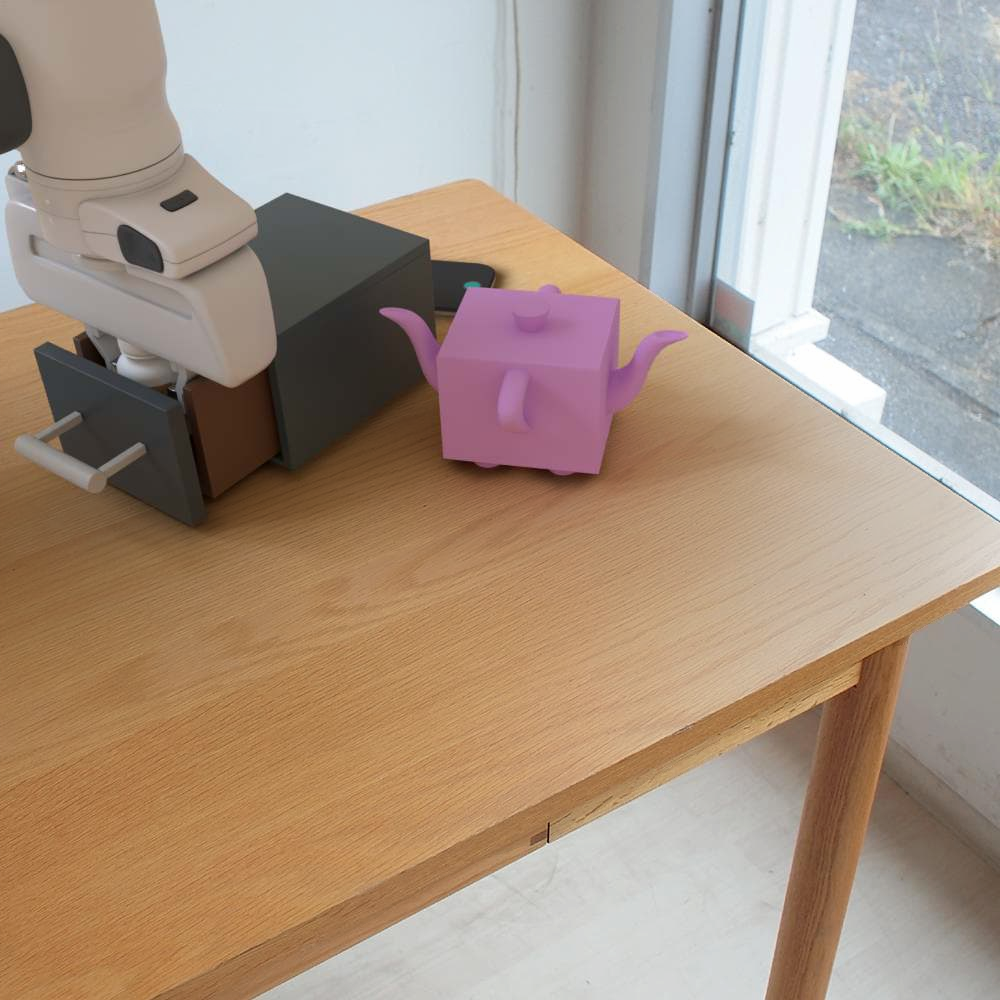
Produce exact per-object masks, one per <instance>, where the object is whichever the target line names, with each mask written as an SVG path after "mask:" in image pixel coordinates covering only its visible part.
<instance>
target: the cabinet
mask: <svg viewBox="0 0 1000 1000" xmlns="http://www.w3.org/2000/svg"><path fill="white" fill-rule="evenodd" d="M253 210H254V212H255V214H256V218H257V224H258V233H257V236H256V237H254V238H253V239H252V240H250V241H249V242H247V243H246V245H248V246H249V247H250V248H251V249H252V250H253V252H254V253H255V254H256V256H257V257H258V259H259V261H260V263H261V265H262V268H263V270H264V273H265V277H266V280H267V285H268V290H269V294H270V300H271V305H272V310H273V317H274V323H275V331H276V339H277V351H276V355H275V357H274V359H273V360H272V362H271V363H270V364H269V366H268V372H269V378H270V384H271V390H272V396H273V402H274V408H275V414H276V419H277V425H278V431H279V437H280V443H281V449H282V451H280V452H279V453H277V454H276V455H275V456H273V457H272V458H270V459H269V460H268V461H269V462H272V463H274V464H276V465H278V466H280V467H283V468H284V469H287V470H289V471H291V472H294V471H296V470H297V469H298V468H299V467H301V466H303V465H304V464H305V463H306V462H308V461H309V460H311V459H312V458H313V457H315V456H316V455H317V454H319V453H320V452H321V451H323V450H324V449H326V448H327V447H328V446H329V445H331V444H333V443H334V442H335V441H336V440H338V439H339V438H340V437H342V436H343V435H345V434H346V433H348V432H349V431H350V430H352V429H353V428H354V427H356V426H358V425H359V424H360V423H361V422H363V421H364V420H365V419H367V418H369V416H371V415H372V414H374V413H375V412H376V411H378V410H379V409H380V408H382V407H383V406H384V405H386V404H387V403H388V402H390V401H391V400H393V399H394V398H395V397H397V396H398V395H400V394H401V393H402V392H404V391H405V390H406V389H408V388H409V387H410V386H412V385H413V384H415V383H416V382H417V381H419V380H420V379H421V378H423V377H425V375H424V374H423V371H422V369H421V366H420V363H419V360H418V358H417V355H416V352H415V349H414V346H413V344H412V342H411V340H410V338H409V336H408V335H407V333H406V332H405V330H404V329H403V328H402V327H401V326H400V325H399V324H397V323H396V322H394V321H392V320H391V319H389V318H387V317H385V316H383V315H382V314H381V313H380V312H379V310H380V309H383V308H402V309H406V310H409V311H412V312H414V313H415V314H417V315H418V316H419V317H421V318H422V319H423V321H424V322H425V323H426V324H427V326H428V327H429V329H430V331H431V333H432V335H433V336H434V338H435V340H436V341H437V342H438V339H437V325H436V324H437V323H436V315H435V309H434V295H433V281H432V267H431V260H432V256H431V241H430V239H429V238H427V237H423V236H421V235H419V234H414V233H412V232H409V231H405V230H403V229H399V228H397V227H394V226H390V225H387V224H384V223H381V222H378V221H375V220H372V219H369V218H366V217H363V216H359V215H357V214H354V213H350V212H349V211H344V210H341V209H338V208H335V207H332V206H329V205H326V204H323V203H320V202H317V201H314V200H311V199H308V198H305V197H302V196H299V195H296V194H293V193H290V192H284V193H282V194H280V195H279V196H277V197H275V198H273V199H272V200H270V201H268V202H266V203H264V204H262V205H261V206H258V207H256V208H254V209H253Z"/></svg>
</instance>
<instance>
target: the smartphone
mask: <svg viewBox="0 0 1000 1000" xmlns="http://www.w3.org/2000/svg"><path fill="white" fill-rule="evenodd" d="M431 267H432V281H433V295H434V309H435V316H438V317H451V318H454V317H455V315H456V313H457V311H458V308H459V306H460V304H461V302H462V300H463V297H464V295H465V293H466V291H467V288H468V287H481V288H494V286H495V284H496V275H497V274H496V270H495V268H493V267H492V266H490V265H488V264H484V263H479V262H466V261H453V260H437V259H431Z"/></svg>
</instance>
